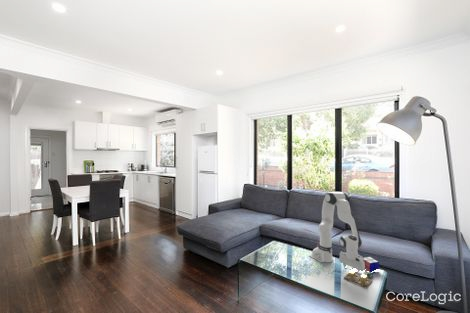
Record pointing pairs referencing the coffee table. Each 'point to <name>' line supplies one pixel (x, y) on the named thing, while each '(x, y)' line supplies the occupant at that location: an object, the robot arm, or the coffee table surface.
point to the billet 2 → (363, 279)
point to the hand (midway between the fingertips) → (351, 271)
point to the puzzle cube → (371, 264)
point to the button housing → (369, 275)
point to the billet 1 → (352, 274)
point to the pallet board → (358, 281)
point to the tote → (358, 272)
